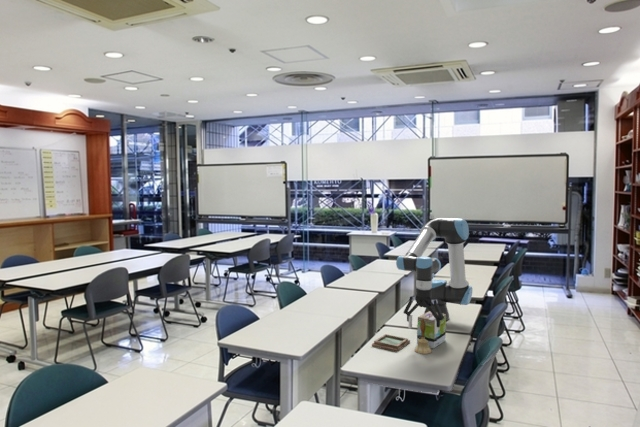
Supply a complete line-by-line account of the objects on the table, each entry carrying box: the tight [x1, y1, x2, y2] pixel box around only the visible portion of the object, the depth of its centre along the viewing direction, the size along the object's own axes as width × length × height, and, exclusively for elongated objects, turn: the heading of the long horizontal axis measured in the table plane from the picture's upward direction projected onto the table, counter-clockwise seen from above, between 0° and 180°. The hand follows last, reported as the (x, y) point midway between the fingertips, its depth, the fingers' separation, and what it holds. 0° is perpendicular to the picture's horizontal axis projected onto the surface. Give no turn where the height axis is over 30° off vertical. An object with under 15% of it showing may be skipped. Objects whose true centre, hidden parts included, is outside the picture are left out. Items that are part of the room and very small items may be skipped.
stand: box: [371, 333, 411, 353], centre depth 231 cm, size 16×14×2 cm
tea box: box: [416, 311, 447, 349], centre depth 233 cm, size 15×10×15 cm, turn 143°
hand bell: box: [414, 319, 432, 355], centre depth 222 cm, size 8×8×16 cm
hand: (423, 330), depth 222 cm, fingers open, 13 cm apart
